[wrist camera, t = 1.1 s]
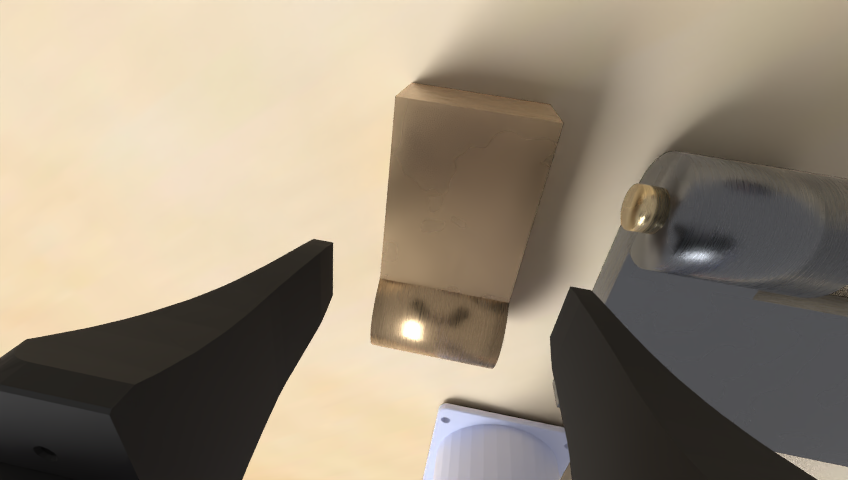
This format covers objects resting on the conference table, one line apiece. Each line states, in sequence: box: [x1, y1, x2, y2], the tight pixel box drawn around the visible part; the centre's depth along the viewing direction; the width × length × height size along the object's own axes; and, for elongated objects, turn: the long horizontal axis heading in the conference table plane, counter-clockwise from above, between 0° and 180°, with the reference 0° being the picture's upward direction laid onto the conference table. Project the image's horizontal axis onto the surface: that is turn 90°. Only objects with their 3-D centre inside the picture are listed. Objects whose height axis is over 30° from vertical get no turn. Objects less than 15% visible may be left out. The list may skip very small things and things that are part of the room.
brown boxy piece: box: [371, 83, 563, 369], centre depth 15 cm, size 10×5×4 cm, turn 173°
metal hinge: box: [553, 151, 848, 467], centre depth 15 cm, size 13×19×4 cm
